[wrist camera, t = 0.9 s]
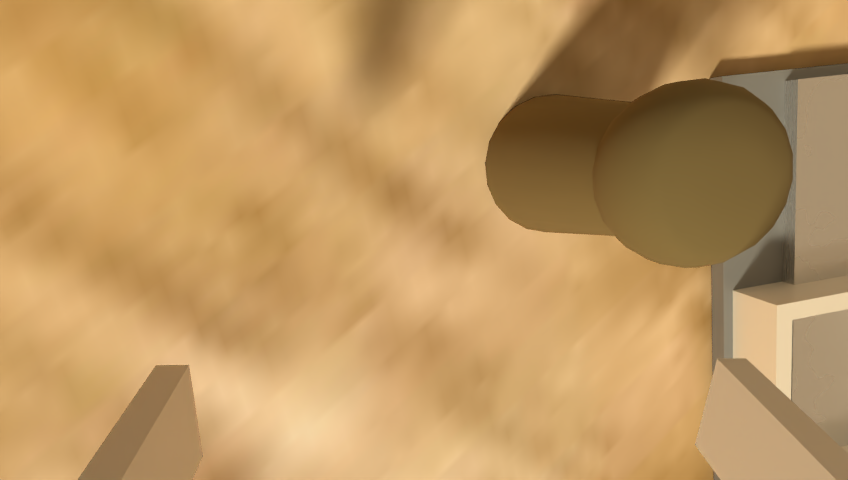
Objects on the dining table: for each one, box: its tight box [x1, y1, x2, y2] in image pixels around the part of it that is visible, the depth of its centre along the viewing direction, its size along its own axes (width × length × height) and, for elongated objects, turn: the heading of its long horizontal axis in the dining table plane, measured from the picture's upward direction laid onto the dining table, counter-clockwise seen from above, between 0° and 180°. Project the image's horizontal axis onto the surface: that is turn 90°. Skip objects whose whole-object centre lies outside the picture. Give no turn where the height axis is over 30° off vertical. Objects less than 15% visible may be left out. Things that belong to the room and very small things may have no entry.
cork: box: [485, 78, 793, 268], centre depth 19 cm, size 6×6×11 cm
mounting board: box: [710, 63, 848, 480], centre depth 28 cm, size 24×11×1 cm, turn 6°
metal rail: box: [782, 74, 848, 446], centre depth 27 cm, size 23×4×1 cm, turn 6°
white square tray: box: [733, 275, 848, 453], centre depth 27 cm, size 10×10×3 cm
